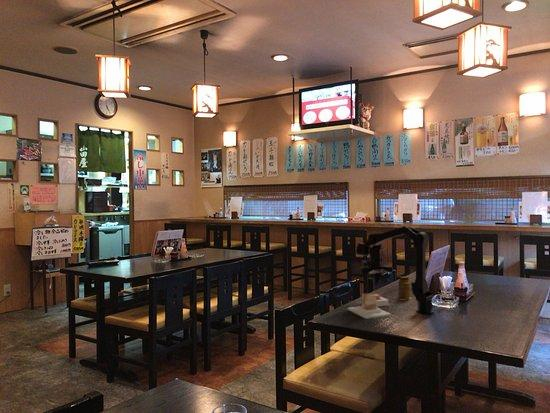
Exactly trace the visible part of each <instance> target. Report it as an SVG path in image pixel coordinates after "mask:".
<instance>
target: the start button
mask: <svg viewBox="0 0 550 413" xmlns="http://www.w3.org/2000/svg"><path fill="white" fill-rule="evenodd" d="M373 294H374V295H376V300H380V297H381V295H380V294H379V293H378V294H377V293H373Z"/></svg>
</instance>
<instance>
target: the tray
mask: <svg viewBox="0 0 550 413" xmlns="http://www.w3.org/2000/svg"><path fill="white" fill-rule="evenodd" d="M347 311H350V312H352V313H354V314H355V315H358V316H360V317H362V318H363V319H366V320H368V319H377V318H387V317H392V313H391V312H388V311H385V310H383V309H382V308H380V307H376V309H371V310H366V309H364V308H362V305H359V306H351V307H347Z"/></svg>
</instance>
